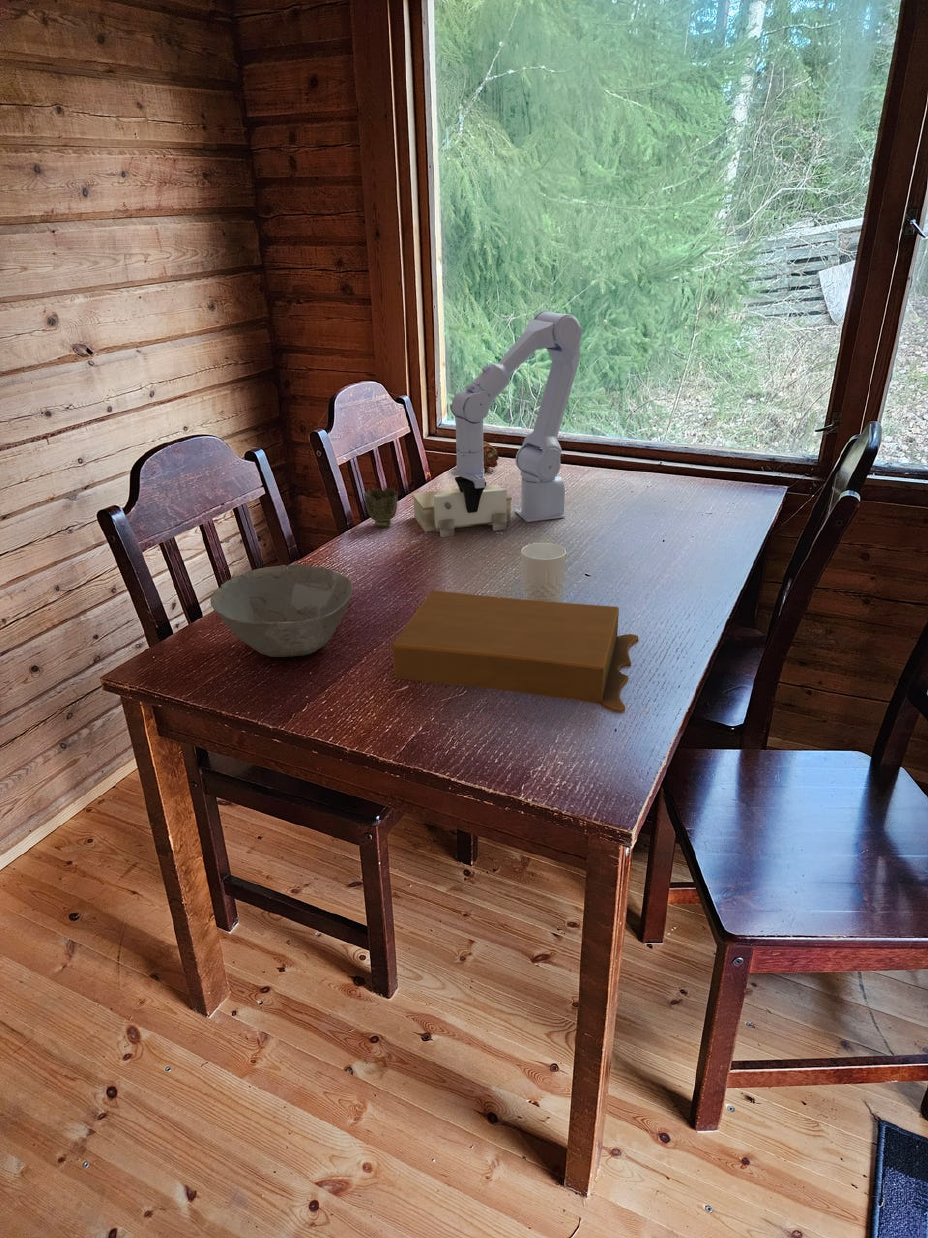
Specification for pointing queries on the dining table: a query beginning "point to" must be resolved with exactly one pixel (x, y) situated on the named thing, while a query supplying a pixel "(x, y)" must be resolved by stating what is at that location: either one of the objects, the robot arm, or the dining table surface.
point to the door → (456, 509)
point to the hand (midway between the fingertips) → (470, 510)
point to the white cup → (543, 571)
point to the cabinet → (427, 519)
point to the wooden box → (516, 647)
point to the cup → (381, 505)
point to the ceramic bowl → (284, 607)
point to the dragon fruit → (489, 456)
